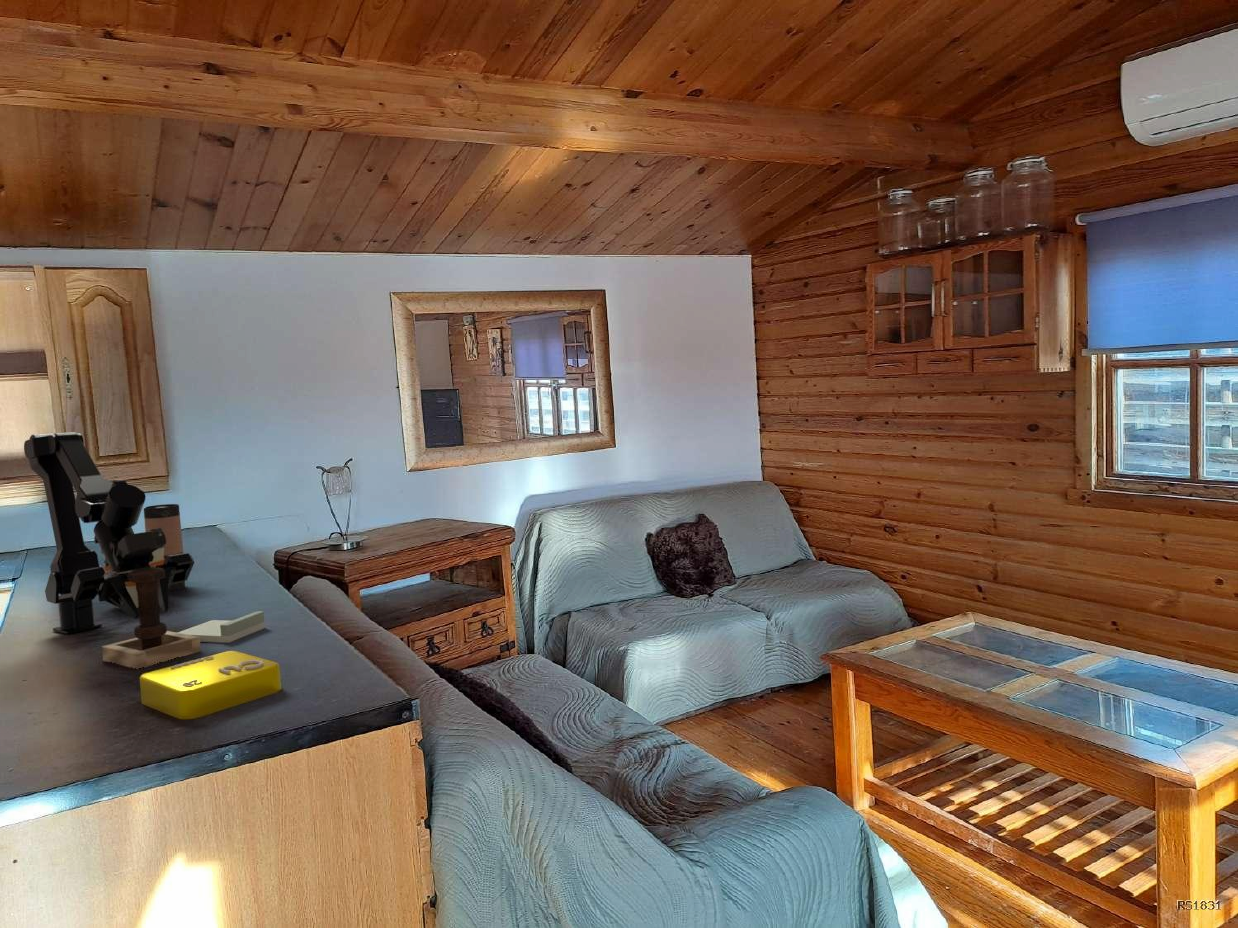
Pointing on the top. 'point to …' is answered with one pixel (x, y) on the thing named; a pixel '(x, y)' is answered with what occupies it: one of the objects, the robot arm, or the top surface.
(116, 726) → the top surface
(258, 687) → the element tile
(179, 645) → the socket
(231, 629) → the pale green ledge plate
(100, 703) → the top surface
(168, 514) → the travel mug
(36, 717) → the top surface
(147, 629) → the bolt
